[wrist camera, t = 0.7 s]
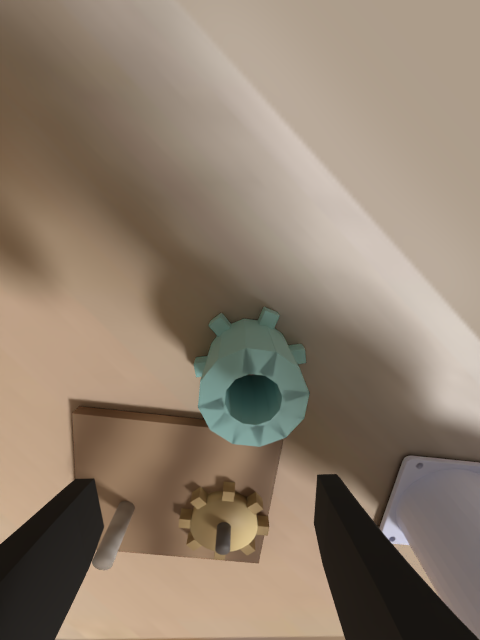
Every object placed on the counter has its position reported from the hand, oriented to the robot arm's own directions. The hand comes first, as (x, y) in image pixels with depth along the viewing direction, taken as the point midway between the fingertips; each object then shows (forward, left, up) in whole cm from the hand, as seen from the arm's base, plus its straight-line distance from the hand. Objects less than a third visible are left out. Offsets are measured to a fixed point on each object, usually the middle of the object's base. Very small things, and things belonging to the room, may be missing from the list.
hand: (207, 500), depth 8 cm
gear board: (+3, +10, -9) cm, 13 cm away
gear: (-1, -1, -9) cm, 9 cm away
